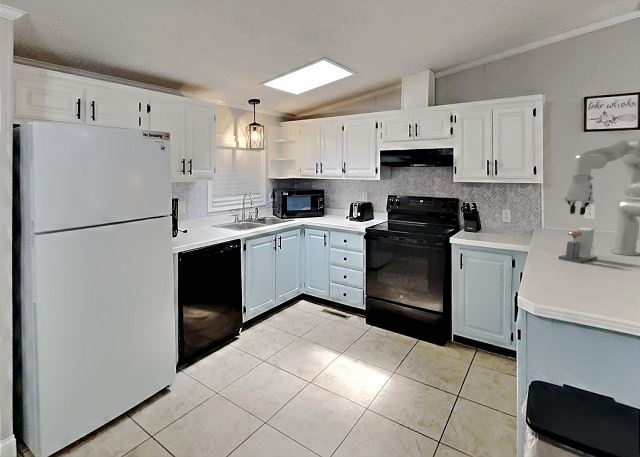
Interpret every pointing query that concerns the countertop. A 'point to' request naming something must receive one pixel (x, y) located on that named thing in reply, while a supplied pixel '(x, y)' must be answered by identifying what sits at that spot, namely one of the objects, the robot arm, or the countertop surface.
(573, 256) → the press base
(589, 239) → the skincare box
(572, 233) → the plunger
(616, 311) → the countertop surface
